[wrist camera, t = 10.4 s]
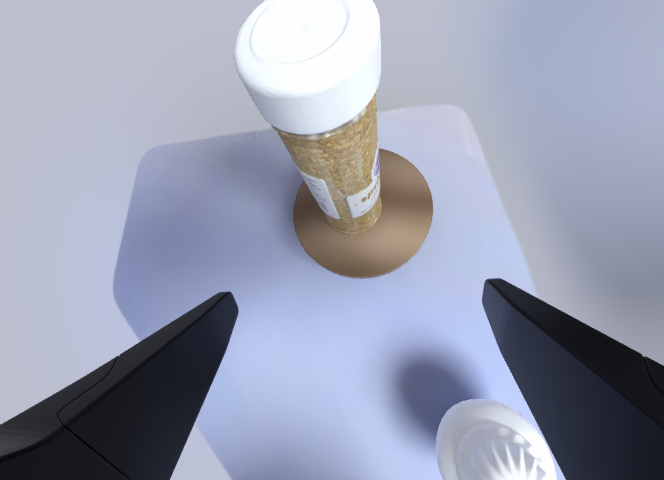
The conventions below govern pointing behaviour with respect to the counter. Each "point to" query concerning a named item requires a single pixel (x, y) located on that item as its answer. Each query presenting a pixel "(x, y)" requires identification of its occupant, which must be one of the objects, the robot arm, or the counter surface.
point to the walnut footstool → (383, 237)
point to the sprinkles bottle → (320, 97)
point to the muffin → (490, 444)
